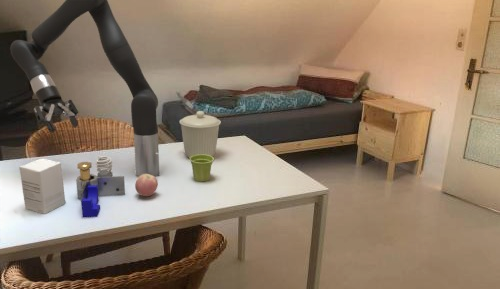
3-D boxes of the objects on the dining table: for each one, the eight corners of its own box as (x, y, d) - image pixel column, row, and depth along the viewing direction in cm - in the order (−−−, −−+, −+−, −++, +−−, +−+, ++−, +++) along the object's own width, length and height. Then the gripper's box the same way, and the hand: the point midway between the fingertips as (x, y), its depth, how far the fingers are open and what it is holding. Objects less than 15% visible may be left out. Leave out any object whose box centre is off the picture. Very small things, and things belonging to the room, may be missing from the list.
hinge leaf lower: (99, 191, 156) (98, 173, 154) (94, 211, 141) (92, 192, 139) (79, 192, 154) (78, 174, 152) (72, 213, 140) (70, 193, 138)
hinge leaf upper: (125, 190, 158) (124, 172, 156) (124, 198, 151) (123, 180, 149) (79, 192, 154) (78, 174, 152) (76, 200, 148) (75, 182, 146)
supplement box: (46, 198, 149) (41, 157, 145) (66, 203, 146) (61, 162, 141) (24, 208, 141) (18, 166, 137) (44, 214, 138) (39, 171, 133)
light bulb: (116, 184, 162) (114, 154, 158) (107, 190, 157) (105, 159, 153) (104, 182, 164) (102, 152, 160) (94, 187, 159) (92, 157, 155)
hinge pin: (94, 192, 155) (92, 161, 151) (93, 198, 150) (90, 166, 147) (81, 193, 154) (78, 162, 150) (79, 199, 149) (76, 167, 146)
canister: (204, 147, 207) (204, 104, 201) (228, 157, 195) (229, 112, 188) (172, 154, 196) (171, 109, 189) (195, 166, 183) (195, 118, 177)
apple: (146, 202, 149) (145, 181, 147) (130, 196, 153) (129, 175, 150) (162, 194, 156) (161, 174, 153) (147, 189, 159) (146, 169, 157)
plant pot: (217, 177, 173) (218, 157, 170) (205, 185, 165) (206, 164, 162) (197, 172, 177) (197, 152, 174) (185, 180, 169) (184, 159, 166)
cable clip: (97, 217, 138) (96, 200, 136) (82, 218, 137) (81, 200, 136) (103, 201, 149) (102, 185, 148) (89, 201, 149) (88, 185, 147)
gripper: (29, 87, 148) (50, 128, 146) (67, 82, 159) (87, 120, 157) (22, 98, 153) (42, 138, 151) (60, 92, 164) (79, 129, 162)
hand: (65, 129), depth 154 cm, fingers open, 8 cm apart
